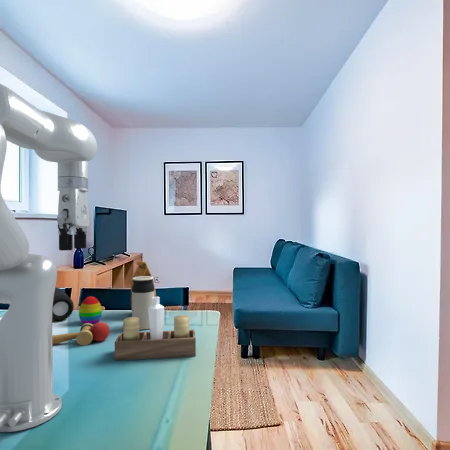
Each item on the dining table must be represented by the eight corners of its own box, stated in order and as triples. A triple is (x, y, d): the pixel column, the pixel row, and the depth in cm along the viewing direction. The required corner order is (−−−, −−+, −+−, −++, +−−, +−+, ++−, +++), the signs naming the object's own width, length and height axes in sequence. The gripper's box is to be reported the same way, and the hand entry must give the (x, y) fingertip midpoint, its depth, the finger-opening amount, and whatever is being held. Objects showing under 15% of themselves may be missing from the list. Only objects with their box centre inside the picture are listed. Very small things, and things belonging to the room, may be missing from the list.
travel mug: (156, 328, 122) (156, 278, 122) (133, 331, 119) (133, 280, 119) (152, 322, 129) (152, 275, 129) (131, 325, 126) (130, 276, 126)
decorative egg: (74, 324, 128) (73, 298, 128) (89, 318, 136) (88, 293, 136) (92, 326, 125) (91, 299, 125) (106, 320, 133) (106, 294, 133)
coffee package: (133, 320, 133) (132, 263, 133) (129, 312, 144) (128, 260, 144) (158, 317, 137) (158, 262, 137) (153, 310, 148) (152, 259, 148)
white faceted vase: (148, 352, 96) (148, 299, 96) (148, 347, 100) (147, 296, 100) (165, 351, 97) (164, 298, 97) (164, 345, 101) (163, 295, 101)
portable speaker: (75, 320, 134) (74, 294, 134) (46, 324, 129) (46, 298, 129) (65, 307, 156) (65, 285, 156) (40, 310, 150) (40, 288, 150)
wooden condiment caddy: (195, 355, 96) (195, 320, 96) (114, 360, 94) (114, 324, 94) (195, 345, 104) (194, 313, 104) (120, 349, 102) (120, 316, 101)
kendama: (46, 354, 102) (109, 340, 106) (44, 333, 103) (106, 320, 107) (53, 350, 109) (112, 337, 114) (51, 330, 110) (109, 318, 115)
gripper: (74, 180, 83) (75, 250, 83) (97, 189, 100) (98, 247, 100) (43, 180, 83) (43, 251, 82) (71, 189, 100) (72, 247, 100)
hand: (73, 249), depth 91 cm, fingers open, 9 cm apart
